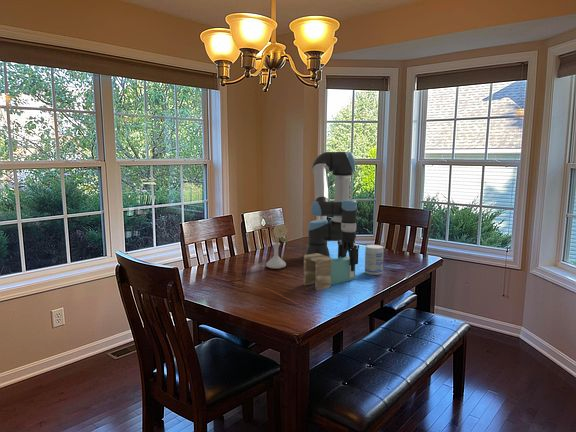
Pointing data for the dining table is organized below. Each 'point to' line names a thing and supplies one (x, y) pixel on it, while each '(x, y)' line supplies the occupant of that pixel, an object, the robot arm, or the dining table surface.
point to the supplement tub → (374, 259)
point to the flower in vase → (276, 260)
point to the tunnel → (317, 270)
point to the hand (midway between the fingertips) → (347, 275)
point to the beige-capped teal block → (340, 270)
